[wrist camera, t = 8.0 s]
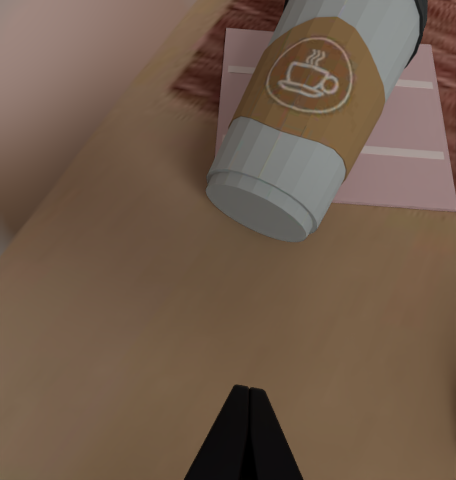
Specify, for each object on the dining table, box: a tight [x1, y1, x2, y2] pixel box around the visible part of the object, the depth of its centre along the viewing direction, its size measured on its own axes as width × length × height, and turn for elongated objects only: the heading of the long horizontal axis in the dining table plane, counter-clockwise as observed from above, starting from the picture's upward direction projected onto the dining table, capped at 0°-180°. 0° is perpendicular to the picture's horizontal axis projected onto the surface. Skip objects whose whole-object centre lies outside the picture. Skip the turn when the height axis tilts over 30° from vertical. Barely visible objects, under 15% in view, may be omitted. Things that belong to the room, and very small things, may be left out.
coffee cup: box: [206, 0, 428, 242], centre depth 19 cm, size 8×8×15 cm
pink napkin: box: [215, 28, 456, 212], centre depth 24 cm, size 16×14×1 cm
